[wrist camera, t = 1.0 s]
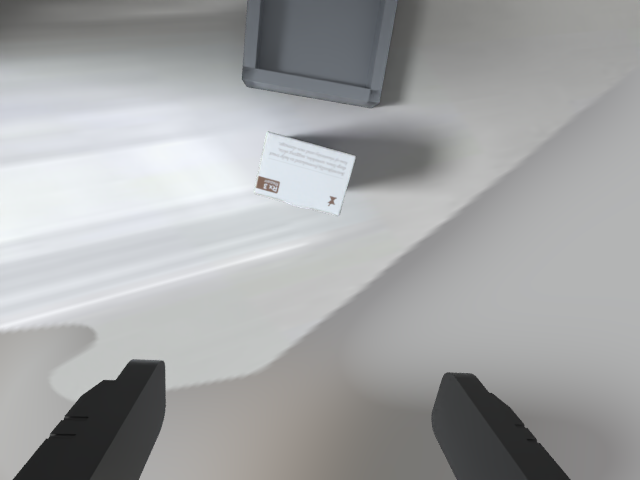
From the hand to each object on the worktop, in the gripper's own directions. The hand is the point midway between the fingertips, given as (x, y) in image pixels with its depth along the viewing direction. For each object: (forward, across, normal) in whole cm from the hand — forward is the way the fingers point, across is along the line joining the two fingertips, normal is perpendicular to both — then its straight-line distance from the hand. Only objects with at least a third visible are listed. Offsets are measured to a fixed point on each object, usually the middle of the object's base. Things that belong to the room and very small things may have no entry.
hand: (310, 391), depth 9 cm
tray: (+25, 0, +17) cm, 30 cm away
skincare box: (+25, 0, +5) cm, 26 cm away
